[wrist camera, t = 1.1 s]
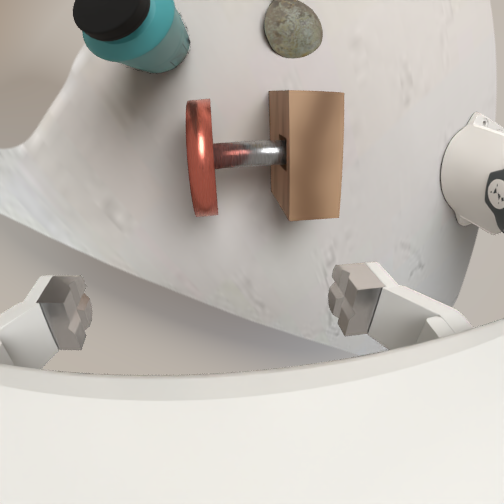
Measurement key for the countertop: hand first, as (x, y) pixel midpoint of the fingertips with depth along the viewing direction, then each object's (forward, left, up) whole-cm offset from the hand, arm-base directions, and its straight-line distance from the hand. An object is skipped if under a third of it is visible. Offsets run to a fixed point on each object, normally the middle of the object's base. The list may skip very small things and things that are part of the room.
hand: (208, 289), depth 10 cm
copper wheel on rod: (-5, 0, -27) cm, 27 cm away
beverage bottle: (+4, -12, -28) cm, 31 cm away
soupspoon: (-8, -20, -28) cm, 36 cm away
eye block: (-10, 0, -28) cm, 29 cm away
